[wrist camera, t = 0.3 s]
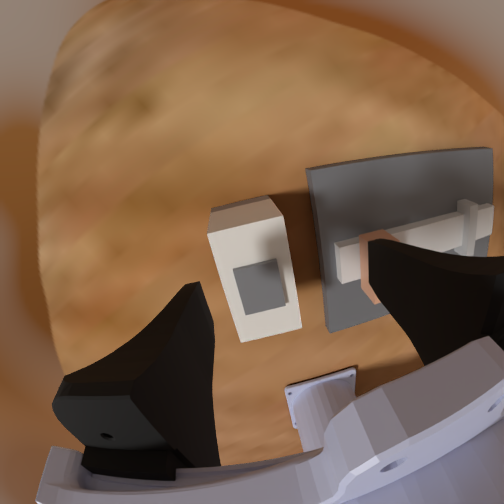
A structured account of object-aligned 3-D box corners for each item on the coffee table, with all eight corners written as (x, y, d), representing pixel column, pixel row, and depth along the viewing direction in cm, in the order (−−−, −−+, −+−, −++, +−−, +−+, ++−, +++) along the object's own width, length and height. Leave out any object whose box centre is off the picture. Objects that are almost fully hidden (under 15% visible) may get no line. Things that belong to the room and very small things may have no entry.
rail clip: (382, 280, 20) (401, 300, 18) (361, 287, 20) (378, 309, 18) (382, 229, 19) (405, 244, 16) (358, 234, 19) (379, 251, 16)
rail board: (477, 269, 25) (493, 280, 22) (325, 325, 24) (336, 346, 22) (484, 146, 19) (505, 151, 16) (305, 168, 19) (319, 174, 16)
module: (285, 285, 22) (303, 330, 17) (236, 297, 22) (241, 345, 17) (267, 194, 19) (284, 217, 14) (211, 207, 19) (206, 235, 14)
